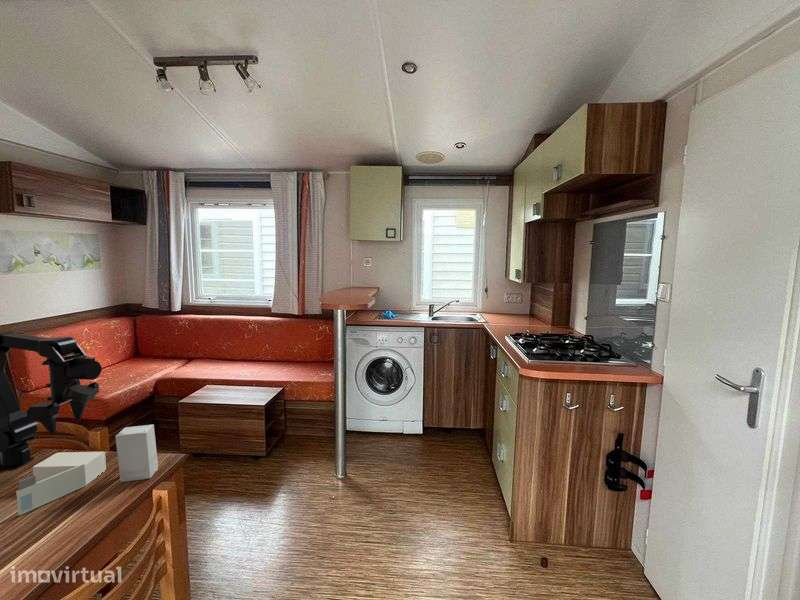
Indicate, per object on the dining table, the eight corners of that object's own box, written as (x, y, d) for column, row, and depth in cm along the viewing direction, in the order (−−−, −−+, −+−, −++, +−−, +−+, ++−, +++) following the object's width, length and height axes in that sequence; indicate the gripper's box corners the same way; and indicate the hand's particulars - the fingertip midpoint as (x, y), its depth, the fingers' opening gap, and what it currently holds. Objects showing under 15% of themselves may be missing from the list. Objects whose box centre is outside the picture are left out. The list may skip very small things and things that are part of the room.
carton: (34, 486, 103) (32, 466, 103) (58, 471, 111) (57, 452, 111) (85, 485, 104) (84, 465, 104) (106, 470, 112) (105, 451, 112)
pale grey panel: (19, 515, 91) (16, 483, 90) (18, 514, 91) (15, 482, 91) (86, 485, 104) (84, 456, 103) (84, 485, 104) (82, 456, 103)
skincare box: (158, 468, 113) (156, 423, 112) (149, 479, 108) (147, 432, 106) (128, 471, 112) (125, 425, 110) (117, 483, 106) (114, 434, 104)
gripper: (64, 388, 103) (68, 440, 104) (112, 369, 121) (114, 414, 123) (22, 388, 102) (27, 441, 103) (77, 369, 120) (80, 415, 122)
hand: (66, 427), depth 113 cm, fingers open, 9 cm apart
